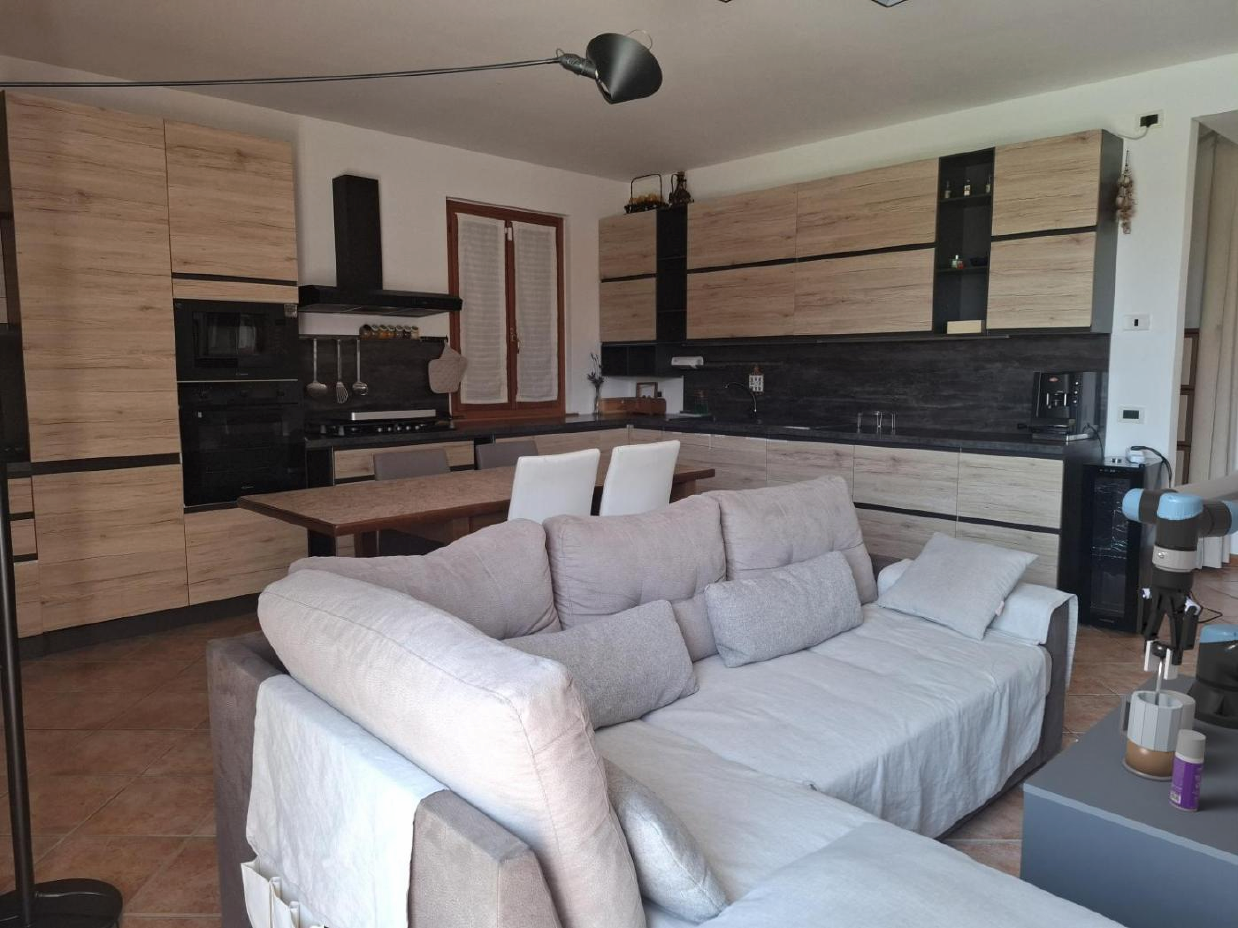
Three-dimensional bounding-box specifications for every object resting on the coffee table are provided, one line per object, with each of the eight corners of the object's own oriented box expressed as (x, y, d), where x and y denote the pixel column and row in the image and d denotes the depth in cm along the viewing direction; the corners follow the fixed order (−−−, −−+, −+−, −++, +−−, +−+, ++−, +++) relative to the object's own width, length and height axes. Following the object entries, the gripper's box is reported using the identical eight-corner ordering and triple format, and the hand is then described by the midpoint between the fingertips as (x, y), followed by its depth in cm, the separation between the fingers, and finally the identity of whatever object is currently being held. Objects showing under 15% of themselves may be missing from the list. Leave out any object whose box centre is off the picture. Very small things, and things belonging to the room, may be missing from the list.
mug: (1184, 754, 188) (1189, 707, 186) (1141, 740, 194) (1146, 695, 193) (1199, 738, 196) (1205, 694, 194) (1158, 725, 202) (1163, 682, 201)
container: (1198, 814, 163) (1207, 742, 161) (1169, 806, 166) (1178, 735, 163) (1196, 803, 167) (1205, 732, 165) (1168, 796, 170) (1177, 726, 167)
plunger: (1152, 715, 183) (1161, 637, 180) (1178, 727, 177) (1187, 647, 174) (1131, 718, 181) (1140, 640, 178) (1156, 730, 175) (1165, 650, 173)
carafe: (1136, 750, 189) (1144, 683, 187) (1188, 778, 177) (1197, 706, 175) (1101, 755, 186) (1109, 687, 184) (1151, 784, 174) (1160, 711, 172)
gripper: (1123, 558, 181) (1112, 661, 184) (1197, 579, 165) (1183, 691, 168) (1150, 556, 183) (1138, 658, 186) (1226, 577, 167) (1211, 688, 170)
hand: (1160, 673), depth 177 cm, fingers closed on plunger, 4 cm apart
